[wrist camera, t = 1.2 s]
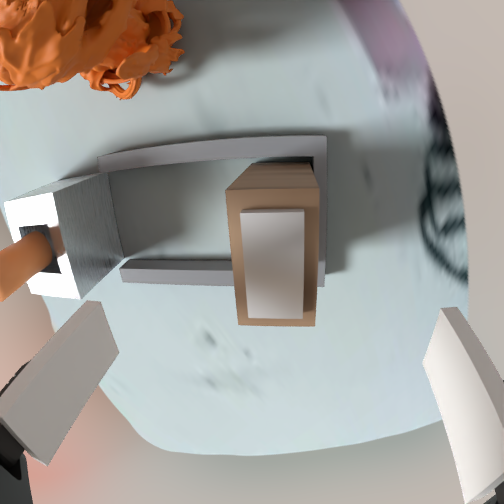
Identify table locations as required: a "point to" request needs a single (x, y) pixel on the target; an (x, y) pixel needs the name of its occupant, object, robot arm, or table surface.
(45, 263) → the orange rounded peg
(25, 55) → the orange figurine
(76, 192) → the grey block with hole
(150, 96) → the table surface
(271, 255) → the carriage
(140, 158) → the guide channel
